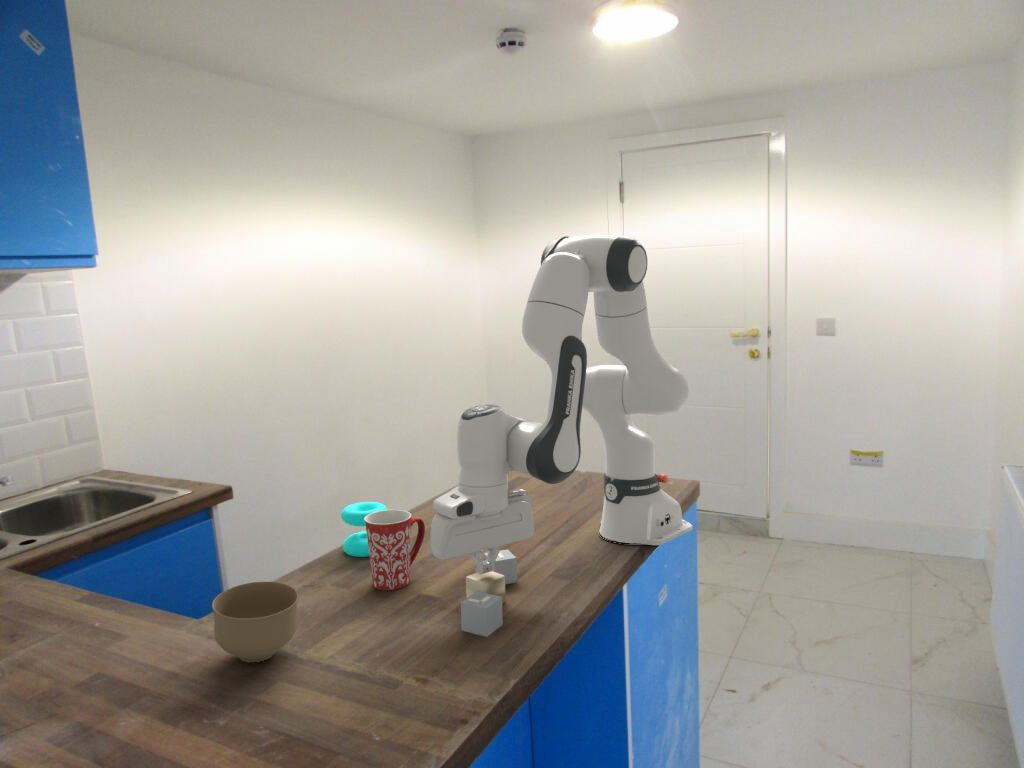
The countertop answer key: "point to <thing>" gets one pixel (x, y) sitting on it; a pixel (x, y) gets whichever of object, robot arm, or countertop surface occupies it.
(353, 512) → the donuts
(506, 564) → the grey block
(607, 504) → the robot arm
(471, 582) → the maple block
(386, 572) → the mug
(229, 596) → the bowl
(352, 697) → the countertop surface
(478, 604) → the grey block
